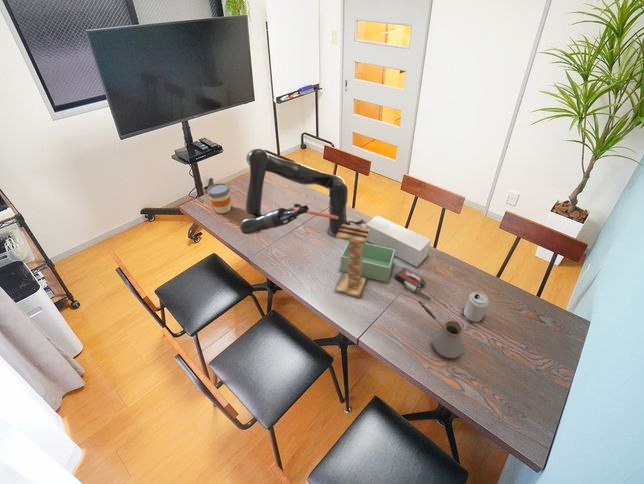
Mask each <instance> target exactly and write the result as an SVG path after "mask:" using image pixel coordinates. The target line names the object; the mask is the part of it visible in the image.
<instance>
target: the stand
mask: <svg viewBox="0 0 644 484" xmlns="http://www.w3.org/2000/svg"><path fill="white" fill-rule="evenodd" d="M369 233H370V229H366V227H360V226H354V225H351V224H350V225H346V224H342V225H341V226H340V229H338V233H337V235H336V236H335V238H336V239H338V240H339V239H340V240H343V241H347V242H348V241H349V259H348V273H347V272H343V273H342V275H341V277H340V280H339V282H338V284H337V286H336V289H335V291H336V292H337V293H340V294H344V295H348V296H352V297H355V298H361V294H362V292H363V290H364V286H365V284H366V281H367V277H363V276H362V260H363V244H365V243H367V241H366V240H367V238H368V235H369Z"/></svg>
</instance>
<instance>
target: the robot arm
mask: <svg viewBox="0 0 644 484" xmlns="http://www.w3.org/2000/svg"><path fill="white" fill-rule="evenodd" d="M246 163H247V164H248V166H249V169H250V170H249V171H250V172H249V183H248V188H247V192H246V198H245V209H244V211H245V213H246V214H248V215H250V218H245V219H244V220H242V221H241V222H240V224H239V230H240V232H241V233H242V234H243V235H246V236H247V235H257V234H260V233H261V232H262V231H267V230H270V229H276V228H279V227H282V226H287V225H288V224H289V223H291V222H293V221H294V220H297V218H298V217H299V216H301V215H303V214H307V213H306V212H307V210H310V208H309V206H308V205H307V204H305V205H302V204H300V203H294V204H293V207H288V208H284V207H280V208H276V209H273V210H271V211H269V212H267V213H264V214H262V202H263V191H264V190H263V189H264V181H265V176H266V172H269V173H272V174H275V175H277V176H279V177H281V178H283V179H285V180H287V181H290V182H292V183H295V184H298V185H303V186H311V185H314V186H315V185H316V186H320V187H323V188H325V189H327V190H328V192H329V201H328V214H329V215H334V216H338V219H333V218H328V232H329V235H331V236H332V237H336V235H337V233H338V229H340V226H341V225H342V224H346V225H350V226H351V223H353V224H355V225H358V224H360V223H362V222H364V220H363V219H361V220H359V221H354V220H347V218H348V216H347V204H348V192H349V189H348V186H347V184H346V181H345V180H344V178H342V177H341V176H339V175H335V174H331V173H327V172H323V171H320V170H318V169H315V168H313V167H310V166H307V165H304V164H301V163H300V162H295V161H292V160H288V159H287V160H286V159H281V158H278V157H275V156H273V155H270V154H268V153H267V151H265V150H264V149H262V148H254V149H251V150H250V151H249V152H247V154H246ZM294 208H299V209H298V210H295V211H294V210H293V209H294Z"/></svg>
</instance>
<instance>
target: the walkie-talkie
mask: <svg viewBox="0 0 644 484" xmlns="http://www.w3.org/2000/svg"><path fill="white" fill-rule="evenodd" d="M394 277H395V278H396V279H397V280H399V281H400V282H402V283H403V284H404V285H405V288H406V289H407V290H409V291H411V292H412V293H417V294H419V295H421V296H422V297H424V298H426V299H427V300H430V301H431V300H432V298H431V297H430V296H429V295H427V294H425V293H423V292H422V291H420V288H421V287H422V286H424V285H425V283H426V282H425V278H424V277H422V276H420V275H418V274H417V273H415V272H414V271H411V270H410V269H408V268H406V267H402V269H400V270H399V271H398V272H397V273H395V274H394Z"/></svg>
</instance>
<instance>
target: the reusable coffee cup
mask: <svg viewBox="0 0 644 484" xmlns="http://www.w3.org/2000/svg"><path fill="white" fill-rule="evenodd" d="M206 190H207V195H208V197H209V201H210V202H211V205H212V206H213V208H214V211H215V212H216V213H217V214H225V213H228V212H230V211H231V209H232V208H231V203H232V198H231V193H230V191H231V190H230V187H229V185H228V184H227V183H224V182H218V183H214V184H211V185H210V186H208V187H207V189H206Z"/></svg>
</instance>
